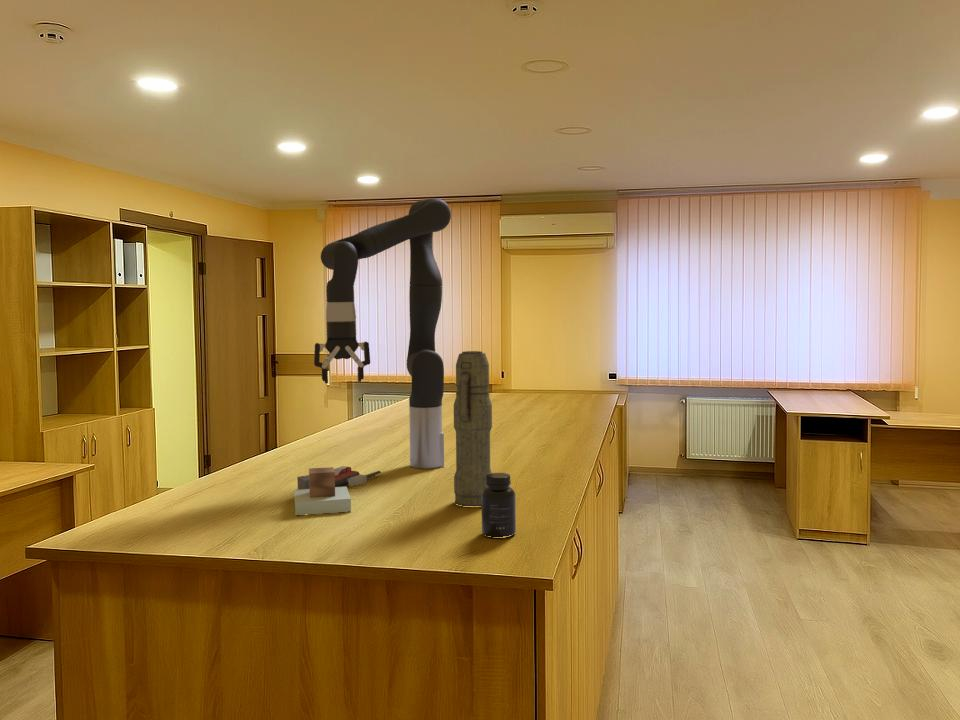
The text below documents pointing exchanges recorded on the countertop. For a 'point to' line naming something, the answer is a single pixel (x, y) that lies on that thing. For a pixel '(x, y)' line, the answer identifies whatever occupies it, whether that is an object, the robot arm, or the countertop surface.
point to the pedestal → (322, 502)
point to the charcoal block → (303, 482)
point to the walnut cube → (321, 482)
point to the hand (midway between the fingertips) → (342, 382)
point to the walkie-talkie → (350, 477)
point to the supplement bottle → (498, 506)
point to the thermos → (472, 427)
